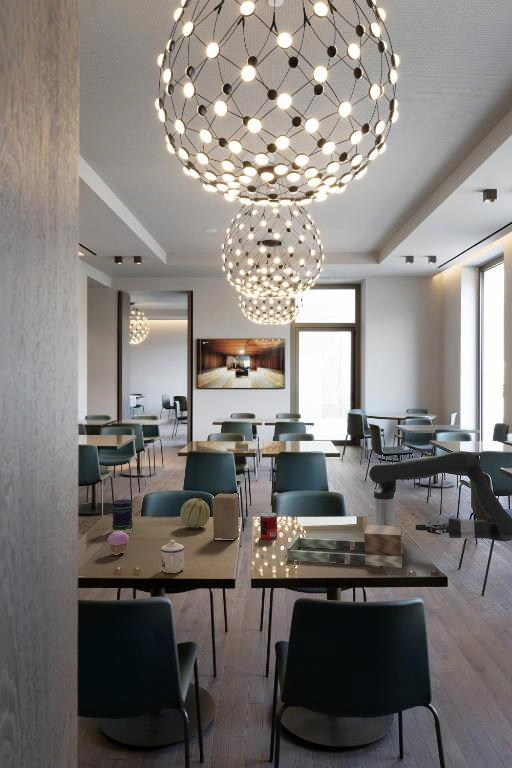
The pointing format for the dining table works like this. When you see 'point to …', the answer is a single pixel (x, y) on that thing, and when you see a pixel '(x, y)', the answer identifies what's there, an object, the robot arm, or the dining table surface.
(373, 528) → the walnut block
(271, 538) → the canned food
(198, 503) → the cantaloupe
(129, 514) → the navy striped cylinder
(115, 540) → the cupcake
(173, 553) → the teacup with lid
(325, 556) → the tray
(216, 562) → the dining table surface
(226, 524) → the block
